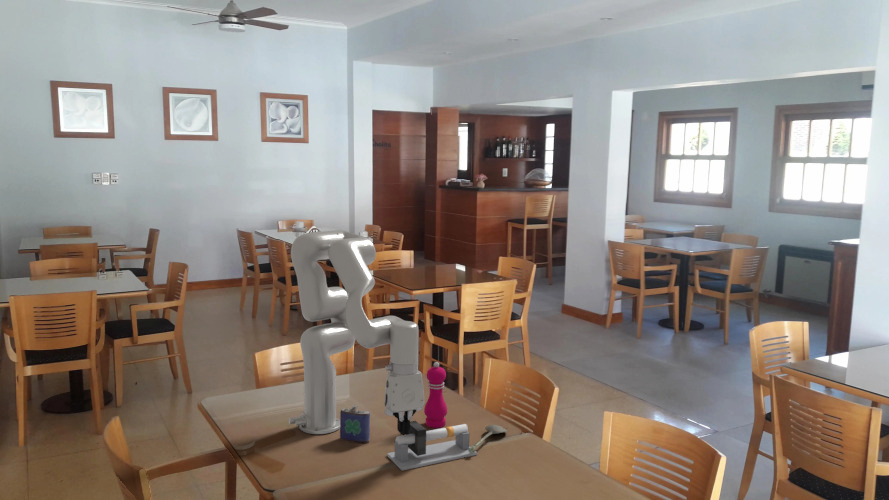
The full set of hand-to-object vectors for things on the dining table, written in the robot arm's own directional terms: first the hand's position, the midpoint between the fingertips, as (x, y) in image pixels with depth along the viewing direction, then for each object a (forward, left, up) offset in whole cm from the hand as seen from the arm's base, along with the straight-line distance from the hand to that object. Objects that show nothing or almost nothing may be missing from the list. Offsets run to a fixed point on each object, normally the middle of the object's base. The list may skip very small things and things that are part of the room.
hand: (403, 433), depth 183 cm
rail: (+9, 0, -8) cm, 12 cm away
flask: (-7, +19, -8) cm, 22 cm away
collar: (+4, 0, -6) cm, 7 cm away
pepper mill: (+20, +20, -8) cm, 29 cm away
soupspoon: (+27, +1, -8) cm, 28 cm away
